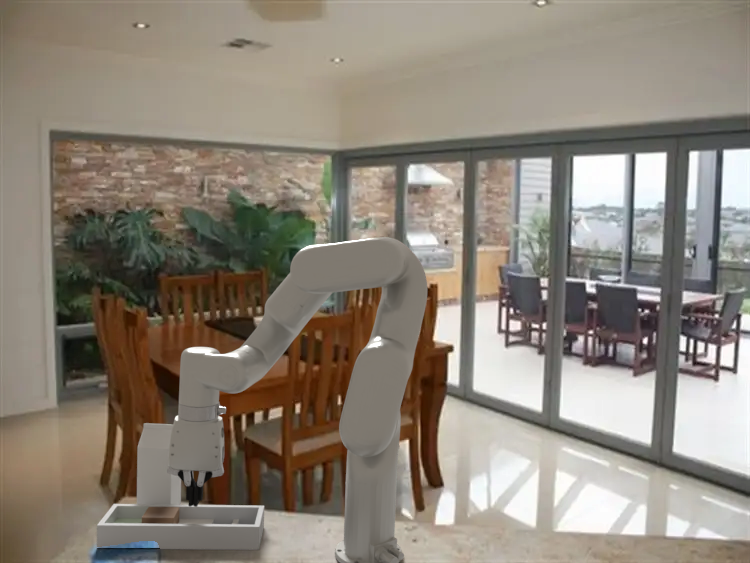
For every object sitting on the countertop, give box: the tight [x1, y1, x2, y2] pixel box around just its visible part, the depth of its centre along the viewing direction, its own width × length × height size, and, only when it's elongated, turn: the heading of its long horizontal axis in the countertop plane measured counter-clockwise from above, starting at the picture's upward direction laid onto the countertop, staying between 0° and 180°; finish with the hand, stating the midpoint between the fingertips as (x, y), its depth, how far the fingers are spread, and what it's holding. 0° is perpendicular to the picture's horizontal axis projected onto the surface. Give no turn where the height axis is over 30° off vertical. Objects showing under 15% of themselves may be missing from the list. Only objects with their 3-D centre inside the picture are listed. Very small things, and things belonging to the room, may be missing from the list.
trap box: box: [96, 503, 265, 551], centre depth 134 cm, size 30×10×4 cm, turn 94°
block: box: [142, 507, 179, 524], centre depth 134 cm, size 6×5×3 cm
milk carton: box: [136, 422, 182, 505], centre depth 145 cm, size 7×7×19 cm
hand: (194, 503), depth 134 cm, fingers closed
